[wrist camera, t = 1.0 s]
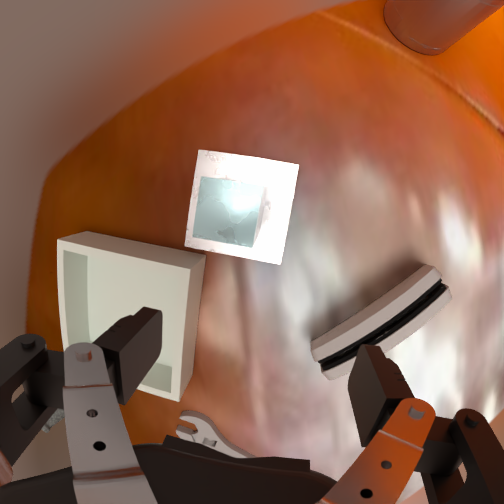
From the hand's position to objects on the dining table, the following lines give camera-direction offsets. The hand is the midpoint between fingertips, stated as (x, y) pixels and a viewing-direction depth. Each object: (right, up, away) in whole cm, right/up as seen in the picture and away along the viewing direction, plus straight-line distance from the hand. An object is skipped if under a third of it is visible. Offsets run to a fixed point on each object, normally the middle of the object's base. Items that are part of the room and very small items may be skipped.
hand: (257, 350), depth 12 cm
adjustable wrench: (-2, -28, +29) cm, 40 cm away
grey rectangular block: (-1, +8, +18) cm, 20 cm away
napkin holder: (+14, -3, +22) cm, 26 cm away
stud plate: (-1, +9, +20) cm, 22 cm away
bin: (-14, -3, +24) cm, 28 cm away
